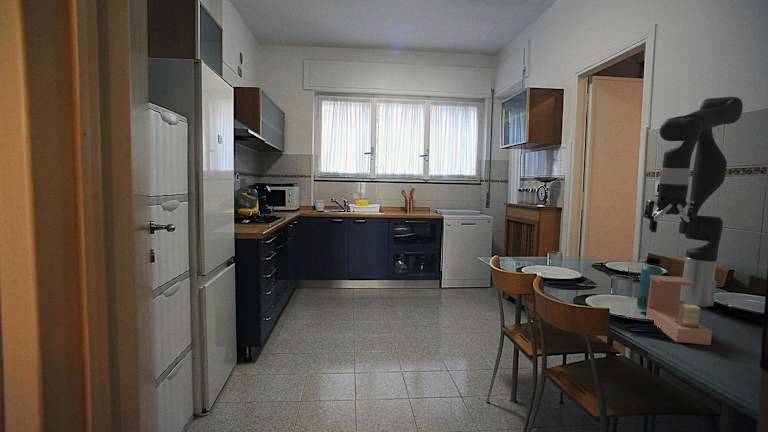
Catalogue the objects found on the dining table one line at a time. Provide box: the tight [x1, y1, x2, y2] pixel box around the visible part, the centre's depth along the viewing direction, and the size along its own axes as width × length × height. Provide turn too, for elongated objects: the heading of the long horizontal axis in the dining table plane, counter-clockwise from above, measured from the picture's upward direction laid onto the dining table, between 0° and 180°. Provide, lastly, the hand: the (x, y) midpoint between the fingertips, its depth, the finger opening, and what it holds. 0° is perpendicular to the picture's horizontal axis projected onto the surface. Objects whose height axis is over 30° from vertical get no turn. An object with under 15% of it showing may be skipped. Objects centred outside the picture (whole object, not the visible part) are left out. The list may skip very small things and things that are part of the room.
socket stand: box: [645, 275, 713, 346], centre depth 123 cm, size 10×18×15 cm, turn 171°
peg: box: [678, 302, 701, 328], centre depth 118 cm, size 3×3×10 cm
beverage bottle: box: [636, 255, 664, 312], centre depth 138 cm, size 6×7×20 cm
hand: (667, 232), depth 129 cm, fingers open, 8 cm apart
